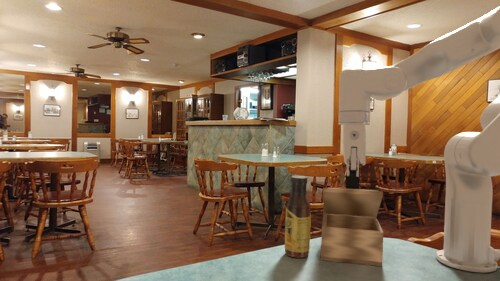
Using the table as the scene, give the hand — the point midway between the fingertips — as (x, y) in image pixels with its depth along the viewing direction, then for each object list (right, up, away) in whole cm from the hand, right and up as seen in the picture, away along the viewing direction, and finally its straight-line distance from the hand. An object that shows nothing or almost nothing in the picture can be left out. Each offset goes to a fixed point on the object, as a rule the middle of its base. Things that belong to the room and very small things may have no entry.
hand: (352, 192), depth 89 cm
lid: (0, -4, +3) cm, 5 cm away
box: (0, -16, +2) cm, 16 cm away
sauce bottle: (-14, -16, 0) cm, 21 cm away
